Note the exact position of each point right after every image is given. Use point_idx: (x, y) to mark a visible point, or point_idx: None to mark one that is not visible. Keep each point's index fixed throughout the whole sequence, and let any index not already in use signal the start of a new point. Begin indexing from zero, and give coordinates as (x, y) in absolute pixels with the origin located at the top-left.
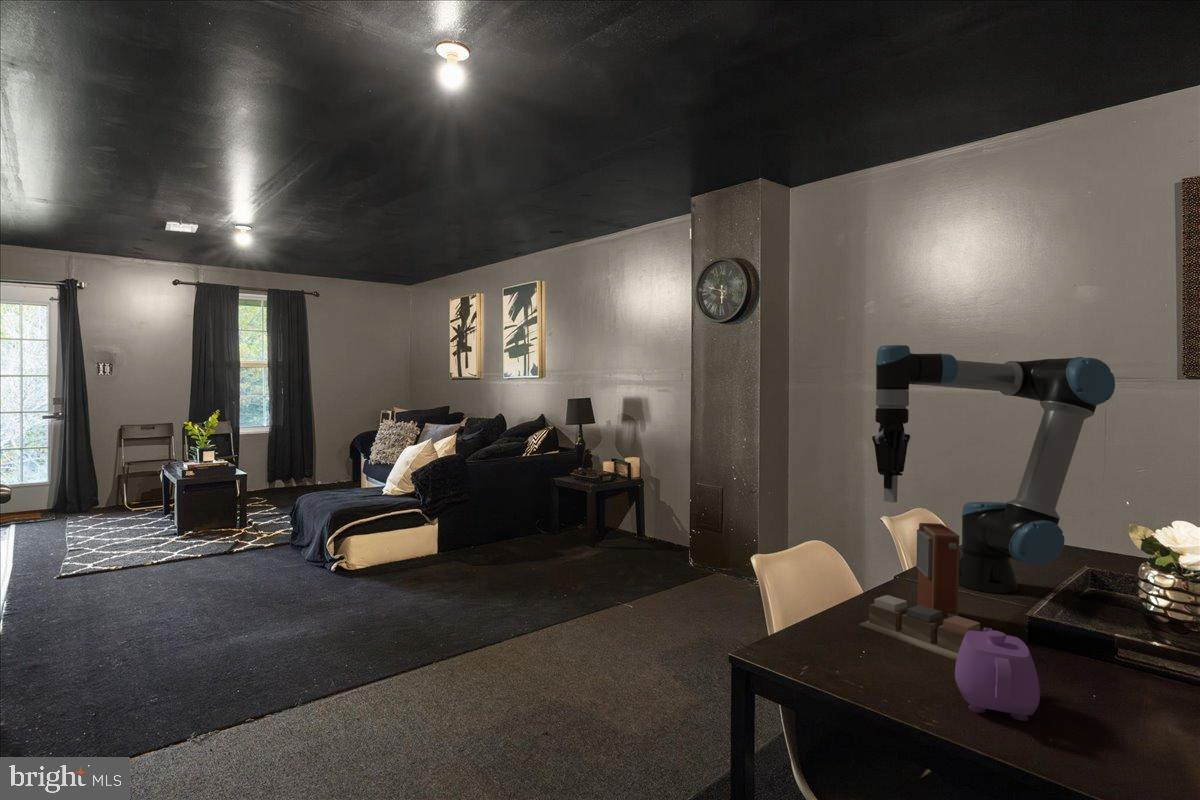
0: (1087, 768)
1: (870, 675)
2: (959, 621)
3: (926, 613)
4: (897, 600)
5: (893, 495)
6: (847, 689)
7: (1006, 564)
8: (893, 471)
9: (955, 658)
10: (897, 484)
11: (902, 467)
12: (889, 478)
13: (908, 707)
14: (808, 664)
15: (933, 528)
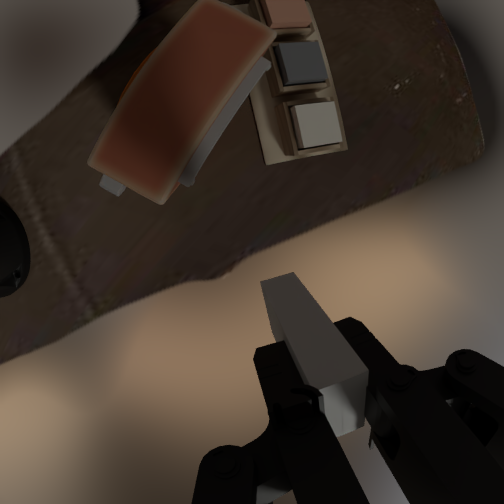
0: None
1: (421, 50)
2: (290, 7)
3: (314, 49)
4: (310, 115)
5: (306, 292)
6: (449, 51)
7: None
8: (394, 404)
9: (311, 12)
10: (256, 364)
11: (230, 488)
12: (387, 362)
13: (423, 6)
14: (454, 102)
15: (196, 95)
